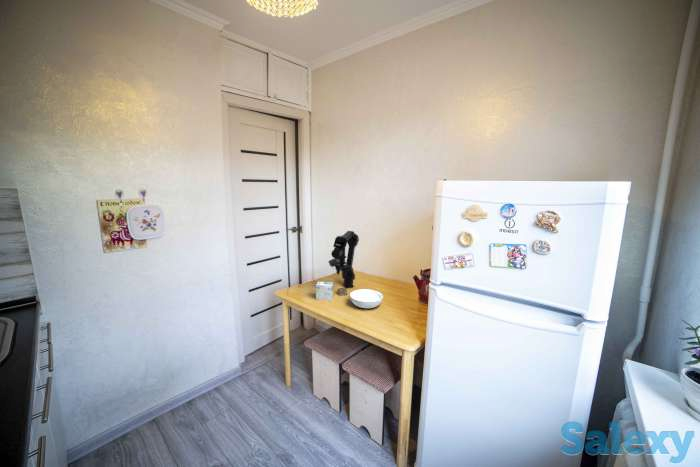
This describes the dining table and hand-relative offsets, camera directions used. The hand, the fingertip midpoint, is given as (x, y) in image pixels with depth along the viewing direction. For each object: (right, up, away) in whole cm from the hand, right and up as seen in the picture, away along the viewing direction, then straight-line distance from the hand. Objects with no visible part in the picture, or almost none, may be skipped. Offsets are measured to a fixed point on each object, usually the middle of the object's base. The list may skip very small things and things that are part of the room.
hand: (340, 276), depth 191 cm
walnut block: (+1, -13, +2) cm, 13 cm away
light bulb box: (-11, -14, -5) cm, 19 cm away
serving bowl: (+17, -16, -14) cm, 27 cm away
